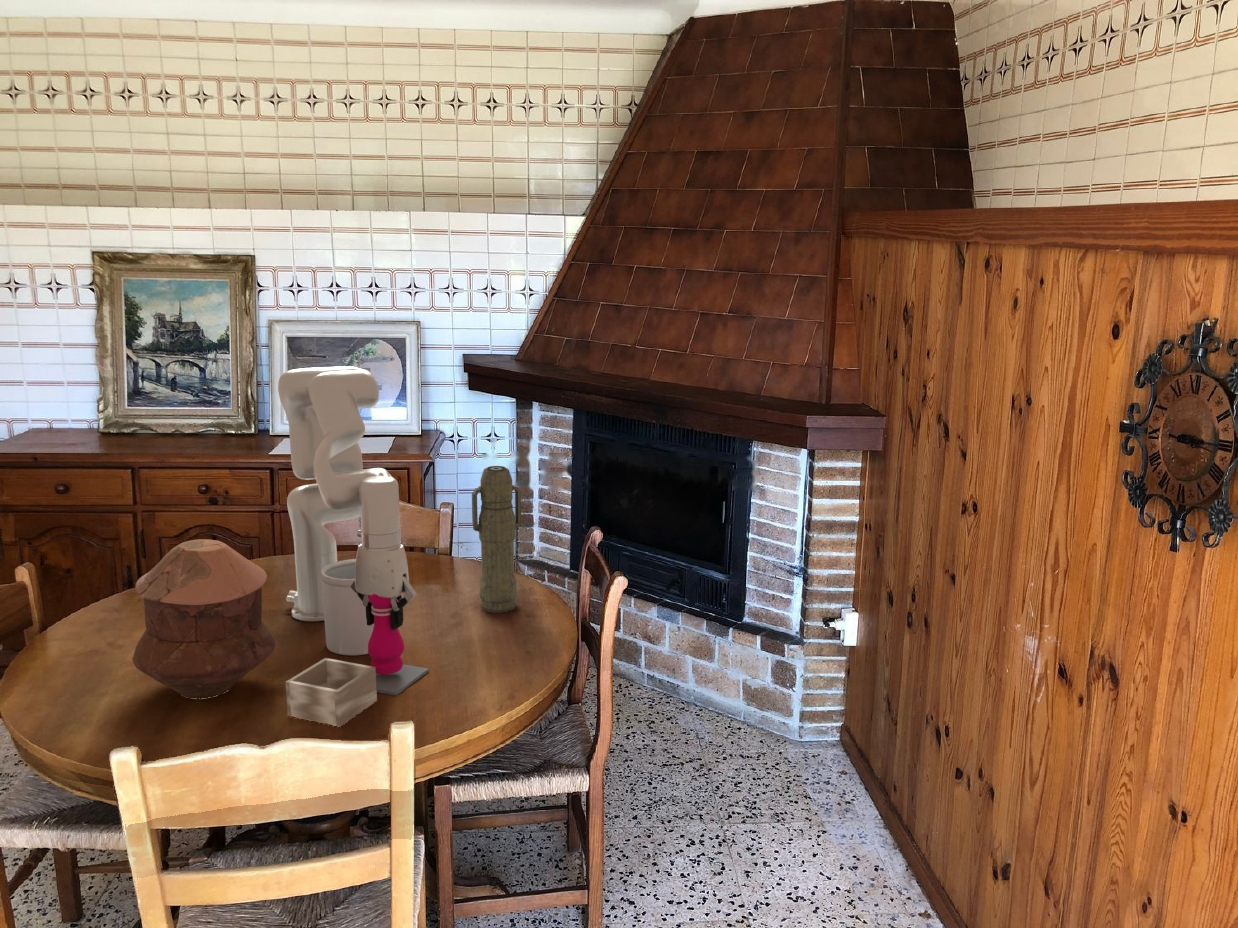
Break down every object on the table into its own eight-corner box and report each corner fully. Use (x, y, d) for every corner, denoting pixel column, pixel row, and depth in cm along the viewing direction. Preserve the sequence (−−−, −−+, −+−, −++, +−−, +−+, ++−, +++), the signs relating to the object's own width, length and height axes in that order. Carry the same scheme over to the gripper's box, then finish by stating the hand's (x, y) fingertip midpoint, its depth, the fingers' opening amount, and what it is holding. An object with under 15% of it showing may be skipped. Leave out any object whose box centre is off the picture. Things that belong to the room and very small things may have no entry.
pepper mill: (412, 663, 195) (407, 570, 191) (392, 677, 188) (388, 582, 184) (381, 658, 197) (377, 567, 193) (361, 672, 190) (356, 578, 186)
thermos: (528, 607, 233) (526, 469, 225) (483, 616, 227) (480, 474, 219) (513, 596, 240) (511, 462, 233) (469, 604, 234) (466, 466, 227)
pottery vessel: (133, 676, 193) (118, 535, 186) (265, 652, 205) (256, 519, 198) (141, 731, 170) (124, 573, 164) (288, 701, 183) (278, 552, 176)
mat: (344, 685, 190) (344, 682, 189) (379, 662, 201) (379, 659, 200) (396, 695, 186) (395, 692, 185) (428, 671, 197) (428, 668, 196)
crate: (287, 716, 177) (285, 681, 175) (327, 690, 187) (325, 657, 186) (339, 727, 173) (337, 692, 171) (377, 700, 183) (375, 666, 182)
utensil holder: (371, 625, 221) (368, 553, 217) (406, 644, 210) (403, 569, 207) (312, 642, 211) (307, 567, 207) (346, 663, 200) (341, 584, 196)
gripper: (333, 539, 186) (338, 625, 190) (407, 549, 180) (411, 638, 184) (356, 529, 193) (360, 613, 197) (428, 538, 187) (431, 624, 191)
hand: (384, 624), depth 191 cm, fingers closed on pepper mill, 5 cm apart
